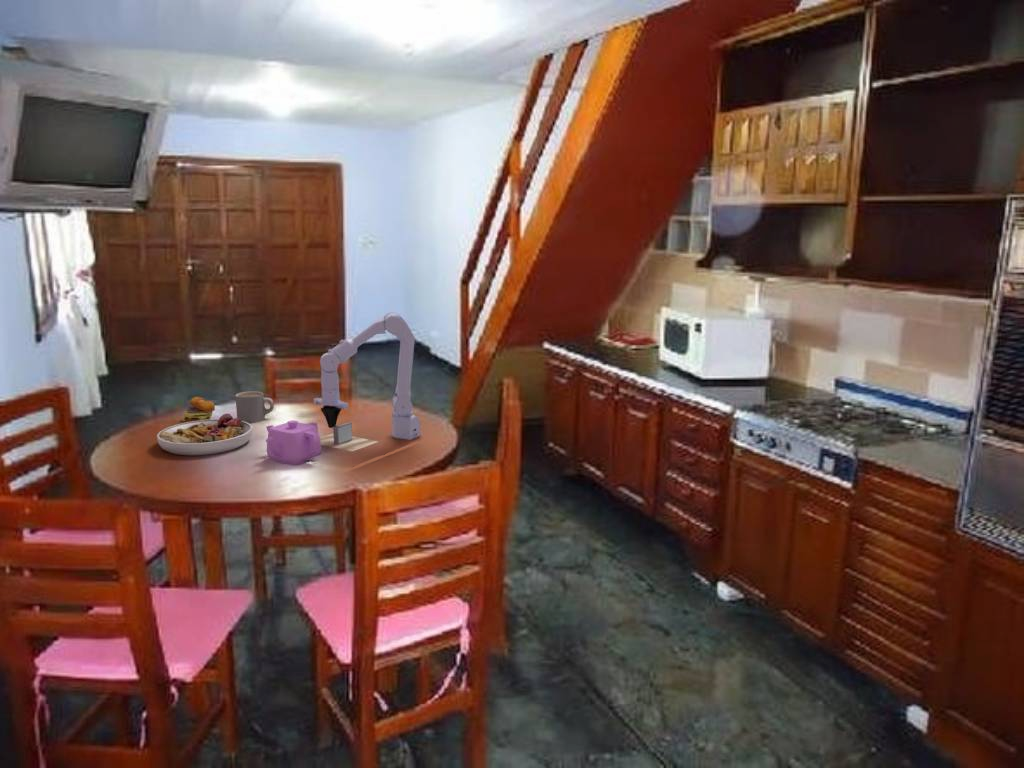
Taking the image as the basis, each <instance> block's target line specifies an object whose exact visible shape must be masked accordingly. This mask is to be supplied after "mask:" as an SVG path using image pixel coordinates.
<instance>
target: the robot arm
mask: <svg viewBox="0 0 1024 768" xmlns="http://www.w3.org/2000/svg"><path fill="white" fill-rule="evenodd" d="M387 332H388V333H389V334H390V335H392V336H395V337H396V338H397V340H398V341H400V342H399V343H400V345H399V354H398V355H399V357H398V365H397V366H398V367H397V380H396V386H395V392H394V395H393V397H392V399H391V404H392V407H393V411H391V425H392V432H391V433H392V434H391V435H392V437H393V438H396V439H402V440H403V439H404V440H408V441H409V440H410V441H411V440H413V439H416V438H419V437H421V421H420V419H419V417H418V416H416V415H414V414H413V413H414V412H413V403H412V400H411V399H412V398H411V394H412V393H411V384H412V374H413V373H412V372H413V363H414V362H413V360H414V353H415V352H414V351H415V341H416V340H415V335H414V334H413V332H412V330H411V329H410V326H408V323H407V322H406V320H405V319H404V318H403V317H402V316H401V315H400V314H399V313H396V312H393V311H390V312H388V313H386V314H385V315H384V316H381V317H379V318H378V319H377V320H375V321H373V322H372V323H371V324H370V325H368V326H367V327H366V328H365V329H363V330H362V331H361V332H360V333H358V334H357V335H355V337H353V338H352V339H350V338H346V339H341V340H339V343H338V344H337V345H336V346H334V347H333V348H332V349H331V348H329V349H328V350H327V351H328V352H326V353H323V354H322V355H321V357H320V360H319V363H320V367H321V370H320V374H321V375H320V384H321V397H316V398H313V405H315V406H316V405H318V406H319V405H320V406H322V407H320V411H321V412H322V414H323V415H324V418H325V420H326V423H327V427H328V428H329V429H333V427H334V426H337V420H338V419H339V418H338V417H339V415H340V413H341V411H342V410H343V411H345V410H349V409H350V404H349V403H348V402H345V401H343V400H340V380H339V374H338V367H339V365H341V364H343V363H345V362H346V361H347V360H349V359H350V358H351V357H353V356H354V355H356V354H357V353H358V348H359V347H360V346H361V345H363V344H364V343H366V342H367V341H369V340H371V339H372V338H373V337H375V336H377V335H381V334H382V335H386V334H387Z"/></svg>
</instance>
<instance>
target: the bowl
mask: <svg viewBox="0 0 1024 768" xmlns="http://www.w3.org/2000/svg"><path fill="white" fill-rule="evenodd" d="M252 435H253V425H252V423H247V422H244V421H241V420H240V419H239V418H237V417H233V416H232V415H231V414H230V413H223V414H222V415H221V416H220V417H219V418H217V419H215V418H214V419H213V418H210V419H209V420H199V421H192V422H186V421H185V422H182V423H177V424H174V425H171V426H168V427H166V428H163V429H162V430H160V431H159V432H158V433H157V435H156V440H157V443H158V445H159V446H160V447H161V448H162V449H163V450H164V451H165V452H168V453H171V454H175V455H181V456H206V455H214V454H221V453H225V452H229V451H232V450H235V449H237V448H240V447H242V446H243V445H244V446H245V444H247V442H249V440H251V438H252Z"/></svg>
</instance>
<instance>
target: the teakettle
mask: <svg viewBox="0 0 1024 768" xmlns="http://www.w3.org/2000/svg"><path fill="white" fill-rule="evenodd" d="M265 427H266V431H267V433H268V434H267V439H265V442H266V455H267V457H268V460H270V461H272V462H275V463H279V464H282V465H287V466H289V465H290V466H300V465H303V464H307V463H310V462H311V461H312V460H311V458H314V457H317V456H319V455H321V454H322V445H321V442H320V438H321V437H320V434H319V427H318V423H317V422H313V421H312V422H308V423H305V422H299V421H298V420H288V421H286V422H285V423H280V424H277V425H275V426H274V425H273V424H272V425H266V426H265Z"/></svg>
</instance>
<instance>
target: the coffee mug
mask: <svg viewBox="0 0 1024 768" xmlns="http://www.w3.org/2000/svg"><path fill="white" fill-rule="evenodd" d="M266 402H268V403H269V406H270V407H269V408H266V405H265V403H266ZM235 406H236V418H239V419H240V420H241V421H244V422H247V423H249V424H254V423H255V424H256V423H260V422H263V421H265V419H266V417H265V416H267V415H268V414H270V413H271V412H272V411H273V410H274V407H275V405H274V400H273V399H272V398H270V397H264V393H263V392H262V391H256V390H253V391H251V390H250V391H244V392H242V391H241V392H239V393H236V394H235Z"/></svg>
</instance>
